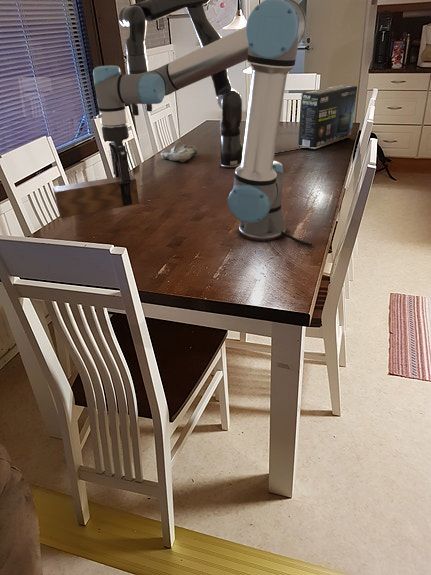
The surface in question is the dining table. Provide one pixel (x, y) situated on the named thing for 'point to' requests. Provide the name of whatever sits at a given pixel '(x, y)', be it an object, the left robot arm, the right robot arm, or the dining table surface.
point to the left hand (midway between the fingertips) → (142, 113)
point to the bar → (92, 196)
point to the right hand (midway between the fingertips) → (125, 201)
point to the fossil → (179, 152)
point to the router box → (326, 115)
